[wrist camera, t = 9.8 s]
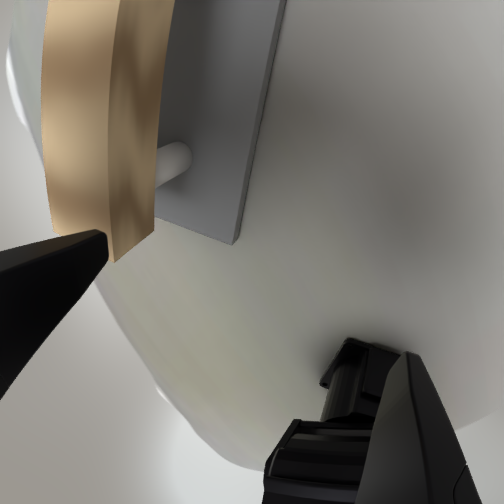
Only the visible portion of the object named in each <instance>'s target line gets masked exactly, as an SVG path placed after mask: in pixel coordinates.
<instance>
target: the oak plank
mask: <svg viewBox="0 0 504 504" xmlns="http://www.w3.org/2000/svg"><path fill="white" fill-rule="evenodd" d="M174 2H175V0H49V3H48V9H47V16H46V24H45V33H44V43H43V55H42V74H41V124H42V144H43V157H44V168H45V177H46V185H47V193H48V200H49V207H50V213H51V219H52V225H53V230H54V232H55V233H57V234H59V235H61V236H65V235H69V234H74V233H78V232H83V231H87V230H92V229H98V230H100V231H102V232H104V233H106V235H107V238H108V248H109V259H108V260H110V261H112V262H114V263H115V262H116V261H117V260H118V259H120V258H121V257H122V256H123V255H124V254H126V253H127V252H128V251H129V250H131V249H132V248H133V247H134V246H136V245H137V244H138V243H139V242H141V241H142V240H143V239H144V238H146V237H147V236H148V235H149V234H151V233H152V232H153V231H154V205H155V174H156V154H157V138H158V125H159V113H160V102H161V92H162V83H163V74H164V66H165V59H166V51H167V44H168V38H169V31H170V25H171V19H172V13H173V8H174Z"/></svg>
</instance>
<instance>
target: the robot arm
mask: <svg viewBox="0 0 504 504" xmlns="http://www.w3.org/2000/svg"><path fill="white" fill-rule="evenodd" d="M108 259H109V248H108V238H107V235H106V233H104V232H102V231H100V230H98V229H92V230H87V231H83V232H78V233H74V234H69V235H65V236H61V237H56V238H53V239H48V240H44V241H40V242H36V243H31V244H28V245H23V246H19V247H15V248H12V249H8V250H4V251H0V400H1V398H2V397H3V396H4V394H5V392H6V391H7V390H8V389H9V387H10V385H11V384H12V383H13V381H14V380H15V379H16V377H17V376H18V374H19V373H20V372H21V371H22V369H23V368H24V367H25V365H26V364H27V363H28V361H29V360H30V359H31V357H32V356H33V355H34V354H35V352H36V351H37V350H38V349H39V347H40V346H41V345H42V343H43V342H44V341H45V340H46V338H47V337H48V336H49V335H50V334H51V332H52V331H53V330H54V329H55V327H56V326H57V325H58V324H59V323H60V321H61V320H62V319H63V318H64V317H65V315H66V314H67V313H68V312H69V311H70V309H71V308H72V307H73V306H74V305H75V304H76V303H77V301H78V300H79V299H80V298H81V297H82V295H83V294H84V293H85V291H86V290H87V289H88V287H89V286H90V284H91V283H92V282H93V280H94V279H95V278H96V276H97V275H98V274H99V272H100V271H101V270H102V268H103V267H104V266H105V264H106V263H107V261H108ZM350 345H352V346H350ZM319 384H320V386H321V387H324V388H327V389H329V390H328V394H327V398H326V401H325V405H324V408H323V412H322V415H321V419H320V422H319V421H302V420H301V419H294V420H293V421H292V423H291V424H290V426H289V427H288V429H287V430H286V432H285V433H284V435H283V437H282V438H281V440H280V441H279V443H278V444H277V446H276V447H275V449H274V450H273V452H272V453H271V455H270V456H269V458H268V459H267V461H266V463H265V469H264V479H263V484H264V495H263V500H262V504H482V502H481V499H480V497H479V495H478V492H477V489H476V487H475V484H474V481H473V479H472V476H471V473H470V470H469V468H468V465H466V460H465V457H464V455H463V452H462V449H461V447H460V444H459V442H458V439H457V437H456V434H455V432H454V429H453V427H452V425H451V422H450V420H449V418H448V415H447V413H446V411H445V408H444V406H443V404H442V402H441V399H440V397H439V395H438V393H437V391H436V389H435V386H434V384H433V382H432V380H431V378H430V376H429V374H428V372H427V370H426V368H425V366H424V363H423V361H422V359H421V357H420V356H419V355H418V354H415V353H412V352H409V351H405V352H404V353H403V354H402V355H401V356H399V355H396V354H394V353H391V352H388V351H385V350H382V349H379V348H376V347H373V346H370V345H368V344H365V343H362V342H359V341H356V340H354V339H347V340H345V341H344V343H343V344H342V346H341V348H340V349H339V351H338V353H337V354H336V356H335V357H334V359H333V361H332V362H331V364H330V365H329V367H328V369H327V370H326V372H325V373H324V375H323V376H322V378H321V380H320V383H319Z"/></svg>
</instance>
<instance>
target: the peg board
mask: <svg viewBox="0 0 504 504" xmlns="http://www.w3.org/2000/svg"><path fill="white" fill-rule="evenodd" d="M285 3H286V0H175V2H174V8H173V13H172V19H171V25H170V31H169V38H168V44H167V51H166V59H165V66H164V74H163V83H162V92H161V102H160V113H159V125H158V138H157V154H156V174H155V205H154V216H155V217H157V218H160V219H163V220H165V221H168V222H171V223H173V224H176V225H179V226H181V227H184V228H187V229H189V230H192V231H195V232H197V233H200V234H203V235H205V236H208V237H210V238H213V239H216V240H218V241H221V242H224V243H226V244H229V245H233V244H234V243H235V241H236V240H237V239H238V235H239V230H240V224H241V219H242V214H243V209H244V203H245V198H246V193H247V188H248V183H249V177H250V172H251V167H252V162H253V157H254V152H255V147H256V142H257V137H258V132H259V127H260V122H261V117H262V112H263V107H264V102H265V97H266V92H267V88H268V83H269V78H270V73H271V68H272V64H273V59H274V54H275V49H276V45H277V40H278V35H279V31H280V26H281V21H282V17H283V12H284V8H285Z"/></svg>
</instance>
